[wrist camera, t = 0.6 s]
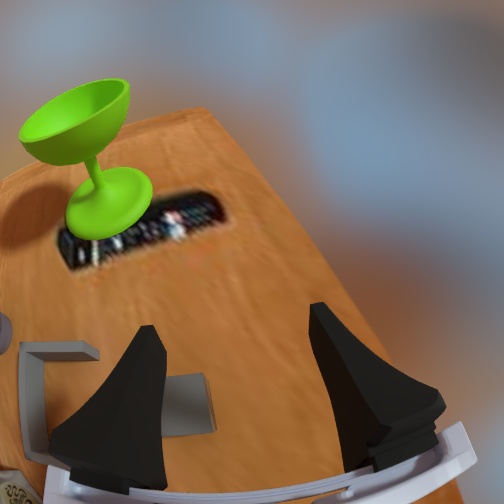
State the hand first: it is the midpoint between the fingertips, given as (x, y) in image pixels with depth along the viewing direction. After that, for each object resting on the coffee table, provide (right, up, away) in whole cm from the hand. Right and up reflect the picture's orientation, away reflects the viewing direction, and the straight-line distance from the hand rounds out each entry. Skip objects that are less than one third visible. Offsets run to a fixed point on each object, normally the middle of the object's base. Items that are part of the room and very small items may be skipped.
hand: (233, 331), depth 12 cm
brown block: (-7, -13, +12) cm, 19 cm away
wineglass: (-23, +12, +28) cm, 38 cm away
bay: (-20, -14, +10) cm, 27 cm away
